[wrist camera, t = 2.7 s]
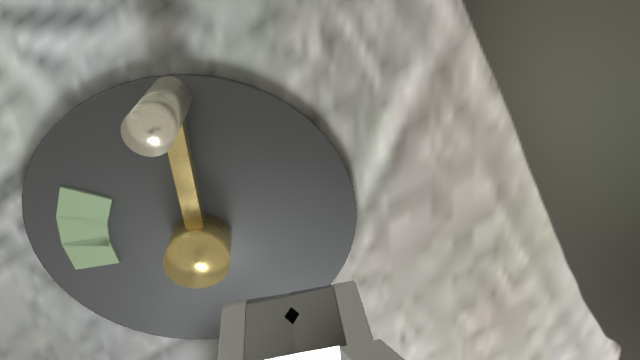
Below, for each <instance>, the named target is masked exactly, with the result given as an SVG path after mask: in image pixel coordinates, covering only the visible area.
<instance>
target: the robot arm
mask: <svg viewBox="0 0 640 360" xmlns="http://www.w3.org/2000/svg"><path fill="white" fill-rule="evenodd" d="M217 360H405V359H403V358H402V357H401V356H400V355H399V354H397V353H396V352H395V351H394V350H393V349H391V348H390V347H389V346H388V345H386V344H385V343H384V342H383V341H382V340H380V339H379V340H373V337H372V334H371V331H370V328H369V324H368V321H367V318H366V315H365V311H364V308H363V305H362V302H361V298H360V295H359V292H358V289H357V285H356V283H355V282H354V281H348V282H343V283H338V284H333V286H332V285H327V286H322V287H316V288H311V289H306V290H301V291H295V292H290V293H287V294H281V295H274V296H268V297H261V298H255V299H248V300H244V301H238V302H231V303H225V304H224V307H223V309H222V316H221V326H220V336H219V346H218V356H217Z"/></svg>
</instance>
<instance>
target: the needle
mask: <svg viewBox="0 0 640 360" xmlns="http://www.w3.org/2000/svg"><path fill="white" fill-rule="evenodd" d="M191 103H192V93H191V90H190V88H189V87H188V85H187V84H186V83H185V82H184V81H182V80H181V79H179V78H177V77H173V76H165V77H161V78H159V79H158V80H156V81H155V82H154V84H153V85H152V86H151V87H150V88H149V90H148V91H147V92H146V93H145V94H144V96H143V97H142V98H141V99H140V100H139V102H138V103H137V104H136V105H135V106H134V108H133V109H132V110H131V111H130V112H129V114H128V115H127V116H126V117H125V118H124V120H123V122H122V124H121V136H122V139H123V141H124V142H125V144H126V145H127V146H128V147H129V148H130V149H131V150H132V151H134V152H135V153H137V154H140V155H143V156H147V157H156V156H160V155H163V154H165V153H166V152H168V156H169V161H170V165H171V169H172V173H173V177H174V182H175V186H176V190H177V194H178V198H179V203H180V207H181V211H182V215H183V219H181V220H180V221H179V222H177V224H176V225H175V226H174V228H173V230H172V234H171V237H170V240H169V243H168V246H167V250H166V253H165V256H164V260H163V267H164V270H165V272H166V274H167V276H168V277H169V278H170V279H171V280H173V281H174V282H175V283H177V284H179V285H181V286H185V287H189V288H206V287H210V286H213V285H215V284H217V283H219V282H220V281H221V280H223V279H224V278H225V276H226V275H227V273H228V271H229V267H230V256H231V244H232V234H231V231H230V228H229V227H228V225H227V224H226V223H225V222H224V221H222V220H221V219H219V218H217V217H215V216H212V215H208V214H204V211H203V206H202V201H201V196H200V191H199V186H198V181H197V176H196V171H195V166H194V161H193V157H192V152H191V147H190V142H189V137H188V132H187V127H186V122H185V117H186V114H187V112H188V110H189V108H190V106H191Z"/></svg>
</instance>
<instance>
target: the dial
mask: <svg viewBox="0 0 640 360" xmlns="http://www.w3.org/2000/svg"><path fill="white" fill-rule="evenodd" d="M165 76H173V77H177V78H179V79H181V80H182V81H184V82H185V83H186V84H187V85H188V87H189V88H190V90H191V93H192V103H191V106H190V108H189V110H188V112H187V114H186V117H185V122H186V127H187V132H188V137H189V142H190V147H191V152H192V157H193V161H194V166H195V171H196V176H197V181H198V186H199V191H200V196H201V201H202V206H203V211H204V214H208V215H212V216H215V217H217V218H219V219H221V220H222V221H224V222H225V223H226V224H227V225H228V227H229V228H230V231H231V234H232V244H231V256H230V267H229V271H228V273H227V275H226V276H225V278H224V279H223V280H221V281H220V282H219V283H217V284H215V285H213V286H210V287H206V288H189V287H185V286H181V285H179V284H177V283H175V282H174V281H173V280H171V279H170V278H169V277H168V276H167V274H166V272H165V270H164V267H163V260H164V256H165V253H166V250H167V246H168V243H169V240H170V237H171V234H172V230H173V228H174V226H175V225H176V224H177V222H179V221H180V220H181V219H183V215H182V211H181V207H180V203H179V198H178V194H177V190H176V186H175V182H174V177H173V173H172V169H171V165H170V161H169V156H168V152H166V153H165V154H163V155H160V156H156V157H147V156H143V155H140V154H137V153H135V152H134V151H132V150H131V149H130V148H129V147H128V146H127V145H126V144H125V142H124V141H123V139H122V136H121V124H122V122H123V120H124V118H125V117H126V116H127V115H128V114H129V112H130V111H131V110H132V109H133V108H134V106H135V105H136V104H137V103H138V102H139V100H140V99H141V98H142V97H143V96H144V94H145V93H146V92H147V91H148V90H149V88H150V87H151V86H152V85H153V84H154V82H155V81H156V80H158V79H159V78H161V77H165ZM22 209H23V219H24V223H25V228H26V232H27V235H28V238H29V240H30V243H31V245H32V247H33V250H34V252H35V254H36V255H37V257H38V259H39V260H40V262H41V264H42V265H43V267H44V268H45V269H46V271H47V272H48V273H49V274H50V276H51V277H52V278H53V279H54V280H55V282H56V283H57V284H58V285H59V286H61V287H62V288H63V289H64V290H65V291H66V292H67V293H68V294H69V295H70V296H72V297H73V298H74V299H76V300H77V301H78V302H79V303H81V304H82V305H83V306H85V307H87V308H88V309H90V310H92V311H93V312H95V313H97V314H98V315H100V316H102V317H104V318H106V319H108V320H111V321H113V322H115V323H117V324H120V325H122V326H125V327H128V328H131V329H134V330H137V331H141V332H144V333H148V334H152V335H158V336H163V337H169V338H180V339H216V338H219V336H220V326H221V316H222V309H223V307H224V304H225V303H231V302H238V301H244V300H248V299H255V298H261V297H268V296H274V295H281V294H287V293H290V292H295V291H301V290H306V289H311V288H316V287H322V286H327V285H330V284H331V283H332V282H333V280H334V279H335V278H336V276H337V275H338V273H339V272H340V270H341V268H342V267H343V265H344V263H345V261H346V259H347V257H348V254H349V252H350V250H351V246H352V243H353V239H354V235H355V227H356V202H355V197H354V192H353V187H352V184H351V181H350V179H349V176H348V173H347V170H346V168H345V166H344V164H343V162H342V160H341V158H340V156H339V155H338V153H337V151H336V149H335V148H334V147H333V145H332V144H331V143H330V141H329V140H328V139H327V137H326V136H325V135H324V133H323V132H322V131H321V130H320V129H319V128H318V127H317V126H316V125H315V124H313V123H312V122H311V121H310V120H309V119H308V118H307V117H306V116H304V115H303V114H302V113H300V112H299V111H298V110H296V109H295V108H294V107H292V106H291V105H289V104H288V103H286V102H284V101H282V100H280V99H279V98H277V97H275V96H273V95H272V94H269V93H267V92H265V91H262V90H260V89H257V88H255V87H252V86H250V85H247V84H243V83H240V82H236V81H232V80H228V79H225V78H218V77H211V76H204V75H185V74H171V75H162V76H153V77H146V78H142V79H138V80H134V81H130V82H126V83H122V84H119V85H117V86H115V87H112V88H110V89H107V90H105V91H102V92H100V93H98V94H96V95H95V96H93V97H91V98H89V99H88V100H86V101H84V102H83V103H81V104H79V105H78V106H77V107H76V108H74V109H73V110H72V111H71V112H70V113H68V114H67V115H66V116H65V117H64V118H62V119H61V120H60V121H59V122H58V123H56V124H55V125H54V127H53V128H52V129H51V130H50V131H49V133H48V134H47V135H46V136H45V137H44V138H43V140H42V141H41V143H40V144H39V146H38V148H37V150H36V151H35V153H34V155H33V157H32V158H31V161H30V164H29V167H28V170H27V172H26V175H25V179H24V186H23V193H22Z"/></svg>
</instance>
